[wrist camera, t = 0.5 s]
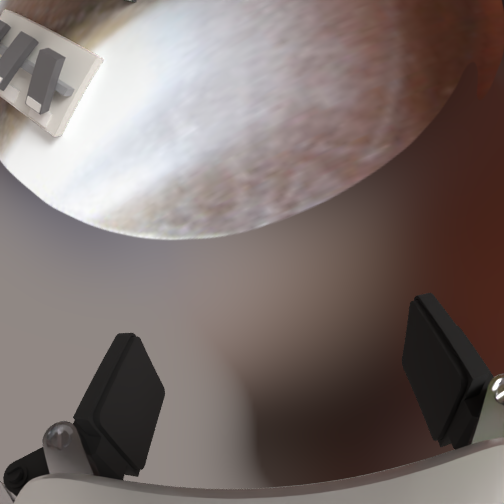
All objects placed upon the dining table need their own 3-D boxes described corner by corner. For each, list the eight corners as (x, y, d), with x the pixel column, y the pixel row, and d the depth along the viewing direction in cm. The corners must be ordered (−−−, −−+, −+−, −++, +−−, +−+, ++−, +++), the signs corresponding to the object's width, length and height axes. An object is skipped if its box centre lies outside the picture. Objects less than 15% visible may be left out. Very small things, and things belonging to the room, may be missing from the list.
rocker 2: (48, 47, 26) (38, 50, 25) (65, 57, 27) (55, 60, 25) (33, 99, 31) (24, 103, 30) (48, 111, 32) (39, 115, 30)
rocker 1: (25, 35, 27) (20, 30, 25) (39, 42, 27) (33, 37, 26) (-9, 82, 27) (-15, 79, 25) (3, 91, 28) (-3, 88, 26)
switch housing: (11, 10, 26) (-3, 7, 23) (104, 59, 32) (90, 55, 28) (-20, 74, 31) (-35, 75, 27) (62, 135, 36) (46, 138, 32)
